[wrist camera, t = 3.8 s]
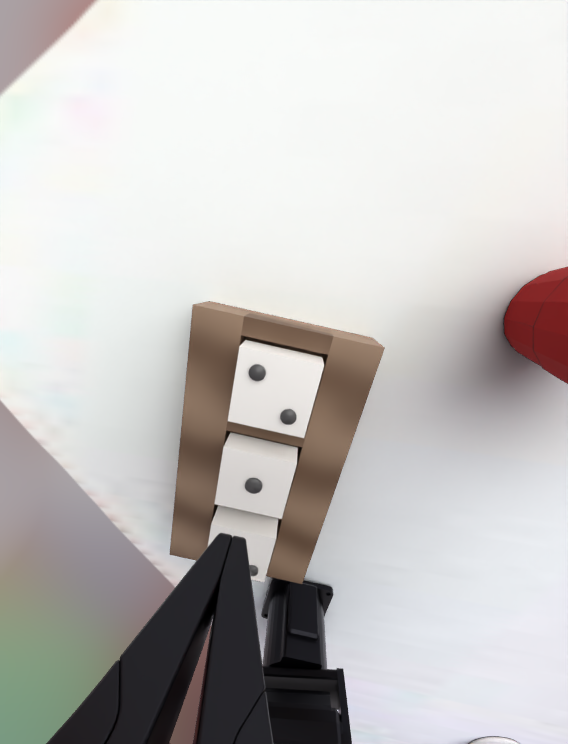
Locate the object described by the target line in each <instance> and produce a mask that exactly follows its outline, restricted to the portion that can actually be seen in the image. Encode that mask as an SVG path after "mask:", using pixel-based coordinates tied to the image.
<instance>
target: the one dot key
mask: <svg viewBox="0 0 568 744" xmlns="http://www.w3.org/2000/svg"><path fill="white" fill-rule="evenodd" d="M297 452H298V447H294V446H289V445H285V444H280V443H276V442H271V441H267V440H262V439H258V438H253V437H249V436H245V435H240V434H236V433H230V435H229V437H228V439H227V441H226V443H225V445H224V447H223V453H222V459H221V466H220V472H219V478H218V485H217V491H216V497H215V503H214V504H217V505H221V506H226V507H230V508H235V509H239V510H243V511H248V512H252V513H257V514H261V515H266V516H270V517H275V518H279V519H282V516H283V512H284V509H285V505H286V502H287V498H288V494H289V491H290V487H291V484H292V480H293V476H294V473H295V469H296V465H297Z"/></svg>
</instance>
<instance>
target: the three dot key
mask: <svg viewBox="0 0 568 744" xmlns="http://www.w3.org/2000/svg"><path fill="white" fill-rule="evenodd" d="M277 527H278V519H277V518H273V517H268V516H264V515H259V514H255V513H251V512H246V511H242V510H237V509H233V508H228V507H224V506H219V505H218V508H217V510H216V513H215V516H214V518H213V521H212V523H211V529H210V535H209V541H208V546H209V545H210V544H211V542H212V541H213V540H214V539H215V537H216V536H217V535H218V534H219V533H225V534H230V535H232V537H233V536H239V537H244V538H245V539H246V543H247V551H248V559H249V566H250V574H251V580H255V581H260V582H264V581H265V577H266V574H267V570H268V567H269V563H270V559H271V556H272V552H273V549H274V545H275V541H276V536H277Z"/></svg>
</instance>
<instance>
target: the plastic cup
mask: <svg viewBox="0 0 568 744" xmlns="http://www.w3.org/2000/svg"><path fill="white" fill-rule="evenodd" d="M504 334H505V336H506V338H507V339H508V341H509V343H510V345H511V346H512V347H513V348H515V350H516V351H517V352H518V353H520V354H522V355H523V356H525V357H526V358H528V359H530V360H531V361H533V362H535V363H537V364H538V365H540V366H542V368H543V369H544V370H546V371H548V372H549V373H551V374H552V375H554V376H556V377H557V378H559V379H560V380H562V381H564V382H565V383H567V384H568V267H565V268H561V269H557V270H553V271H550V272H548V273H546V274H543V275H540V276H539V277H537V278H535V279H534V280H532V281H531V282H529V283H528V284H526V285H525V286H523V287H522V288H521V290H520V291H519V292H518V293H517V294H516V296H515V297H514V298H513V299H512V300H511V302H510V304H509V307H508V309H507V312H506V314H505V317H504Z"/></svg>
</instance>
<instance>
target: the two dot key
mask: <svg viewBox="0 0 568 744" xmlns="http://www.w3.org/2000/svg"><path fill="white" fill-rule="evenodd" d="M323 368H324V362H323V358H322V357H320V356H316V355H311V354H307V353H302V352H298V351H293V350H289V349H284V348H280V347H275V346H271V345H267V344H262V343H258V342H253V341H249V340H245V341H244V342H243V343H242V344H241V345H240V346H239V353H238V359H237V365H236V371H235V378H234V384H233V390H232V397H231V403H230V409H229V415H228V421H230V422H234V423H239V424H243V425H247V426H252V427H256V428H261V429H265V430H270V431H274V432H279V433H283V434H288V435H292V436H297V437H301V438H304V437H305V433H306V429H307V426H308V422H309V419H310V415H311V411H312V408H313V404H314V400H315V397H316V393H317V390H318V386H319V382H320V379H321V375H322V372H323Z"/></svg>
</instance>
